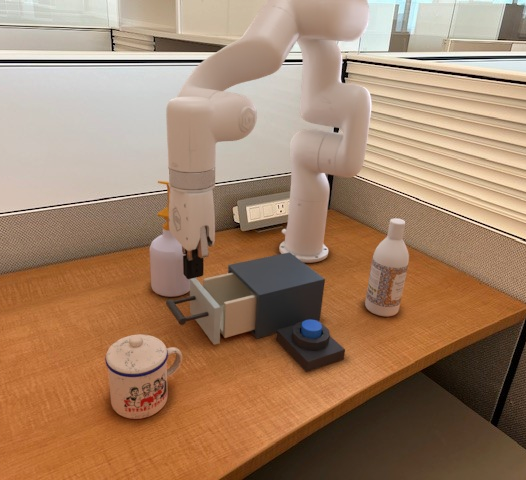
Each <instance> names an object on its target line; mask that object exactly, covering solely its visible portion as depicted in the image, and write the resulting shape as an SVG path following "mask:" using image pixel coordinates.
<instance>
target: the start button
mask: <svg viewBox="0 0 526 480" xmlns="http://www.w3.org/2000/svg"><path fill="white" fill-rule="evenodd" d="M321 324H322V323H321V322H320V321H316V320H311V319H309V320H305V321H303V322H302V327H301V334H302V335H303V336H305V337H307V338H314V339H315V338H319V337H320V336H321V332H322V325H321Z"/></svg>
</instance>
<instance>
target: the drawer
mask: <svg viewBox="0 0 526 480" xmlns="http://www.w3.org/2000/svg"><path fill="white" fill-rule="evenodd" d="M183 303H189V313H190V315H188V316H184V314H183V313H182V311H181V310H180V308H179V307H178V306H177V305H179V304H183ZM256 303H257V296H256V295H255V294H254V293H253V292H252V291H251V290H250V289H249V288H248V287H246V286H245V285H244V284H243V283H242V282H241V281H240V280H239V279H238V278H237V277H236V276H235V275H234V274H233V273H228V272H227V273H223V274H218V275H214V276H209V277H205V278H203V279H202V283H201V282H200V281H199V280H198V279H197V278H192V279H190V291H189V296H187V297H183V298H178V299H174V300H173V299H172V298H168V299H166V301H165V305H166V307H167V308H168V309H169V311H170V313H171V314H172V315H173V317H174V318H175V320H176V322H178V324H179V325H180V326H184V325H186V324H187V322H191V321H194V320H195V321H196V323H197V324H198V325H199V327H200V328H201V330H202V331H203V332H204V334H205V335H206V336H207V338H208V339H209V340H210V342H211V343H212V344H213V346H215V345H219V344H221V335H222V336H223V338H224V339H227V338H229V337H233V336H237V335H241V334H244V333H248V332H250V331H251V330H255V319H256Z"/></svg>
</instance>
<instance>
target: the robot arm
mask: <svg viewBox="0 0 526 480" xmlns="http://www.w3.org/2000/svg"><path fill="white" fill-rule="evenodd" d="M370 12H371V11H370V6H369V3H368V0H265V2H264V4H263V5H262V6H261V7H260V9H259V11H258V12H257V14H256V15H255V16H254V18H253V20H252V21H251V23H250V24H249V25H248V27H247V28H246V30H245V31H244V33H243V34H242V36H241V37H240V38H238V39H237V40H234V41H232V42H231V43H229V44H227V45H226V46H224V47H222V48H221V49H219V50H218V51H216V52H215V53H213V54H210V55H209V56H207V58H205V59H204V60H202V61H201V62H200V63H198V65H197V66H196V67H195V68H194V69H193V70H192V71H191V73H190V75H189V76H188V77H187V79H186V80H185V82H184V83H183V85H182V86H181V88H180V89H179V91H178V93H177V95H176V97H174V98H172V99H170V100H168V102H167V104H166V109H165V118H166V119H165V120H166V143H167V145H166V146H167V147H166V148H167V171H168V173H167V175H168V182H169V187H170V193H169V230H170V232H171V234H172V235H173V236H174V237H175V239H176V240H177V241H178V242H179V243H180V244H181V245H182V252H183V254H184V256H183V274H184V276H186V278H187V279H192V278H196V279H197V278H201V277H203V276H204V270H205V269H204V258H209V257H210V253H209V248H211V247H213V246H214V245H215V241H216V240H215V239H216V216H215V201H214V192H213V189H215V187H216V146H217V145H216V144H217V143H221V142H235V141H236V142H237V141H239V140H240V141H241V140H242V139H244V138H246V137H248V136H249V135H250V134H251V133H252V132H253V130H254V129H255V126H256V124H257V119H258V112H257V108H256V105H255V103H254V102H253V101H252V100H251V99H250V98H249V97H248V96H246V95H243V94H240V93H236V92H231V91H227V89H229V88H232V87H234V86H237V85H240V84H243V83H246V82H251V81H254V80H255V81H256V80H259V79H262V78H265V77H268V76H270V75H274V73H277V72H278V71H279V70H280V69H281V67H282V66H283V64H284V62H285V61H286V59H287V57H289V54H290V52H291V51H292V50H293V48H294V47H295V45H296V43H297V44H298V47H299V49H300V53H301V56H302V73H301V84H300V97H299V100H300V101H299V113H300V117H301V118H302V120H304V121H305V122H307V123H310V124H313V125H319V126H325V127H331V128H337V129H341V132H342V133H340V132H335V131H330V130H324V129H319V128H304V129H300V130H298V131H297V132H295V133H294V134H293V136H292V138H291V140H290V143H289V161H290V172H291V173H290V190H289V191H290V192H289V204H288V214H287V215H288V216H287V225H286V228H283V229H282V230H281V234H282V235H284V240H283V241H282V242H281V243H280V244H279V247H278V248H279V250H278V251H279V254H284V253H289V252H290V253H291V254H292V255H294V256H295V257H296V258H298V259H299V260H300V261H302V262H303V263H304V264H306V263H307V264H311V263H318V262H321V261H324V260H326V258H328V256H329V248H328V247H327V245H325V244H324V240H325V233H326V226H327V218H328V217H327V216H328V209H329V200H330V189H331V188H330V183H329V180H328V177H327V176H326V175H330V176H335V177H341V178H354V177H356V176H357V175H359V173H360V172H361V170H362V168H363V166H364V162H365V158H366V152H367V144H368V137H369V130H370V123H371V122H370V121H371V116H372V96H371V93H370V91H369V90H368V89H367V87H365V86H363V85H361V84H357V83H356V84H355V83H347V82H342V71H343V70H342V69H343V55H342V51H341V48H340V46H339V44H338V42H344V43H345V42H346V43H353V42H355V41H358V40H359V39H361V37H363V35H364V34H365V33H366V31H367V29H368V26H369V23H370V16H371V13H370ZM185 254H186V255H185Z"/></svg>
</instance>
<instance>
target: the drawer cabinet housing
mask: <svg viewBox="0 0 526 480" xmlns="http://www.w3.org/2000/svg"><path fill="white" fill-rule="evenodd" d="M227 273H233V274H234V275H235V276H236V277H237V278H238V279H239V280H240V281H241V282H242V283H243V284H244V285H245V286H246V287H248V288H249V289H250V290H251V291H252V292H253V293H254V294H255V295H256V296H257V303H256V319H255V330H251V331H249V332H250V334H251V335H252V336H253V337H254V339H256V340H258V339H261V338H264V337H268V336H271V335H275V334H277V330H279V329H283V328H286V327H290V326H293V325H296V324H297V323H299V322H302V321H305V320H309V319H311V320H316V321H318V322H320V320H321V314H322V308H323V307H322V306H323V298H324V292H325V291H324V290H325V282H326V279H325V278H324V277H323V276H322V275H320V273H318V272H317V271H315V270H314V269H313V268H311V267H310V266H308V265H307V264H306V263H304V262H302V261H300V260H299V259H298V258H296V257H295V256H294V255H292V254H291V253H290V252H289V253H284V254H281V253H279V254H275V255H269V256H264V257H260V258H255V259H250V260H246V261H241V262H236V263H232V264H227Z"/></svg>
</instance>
